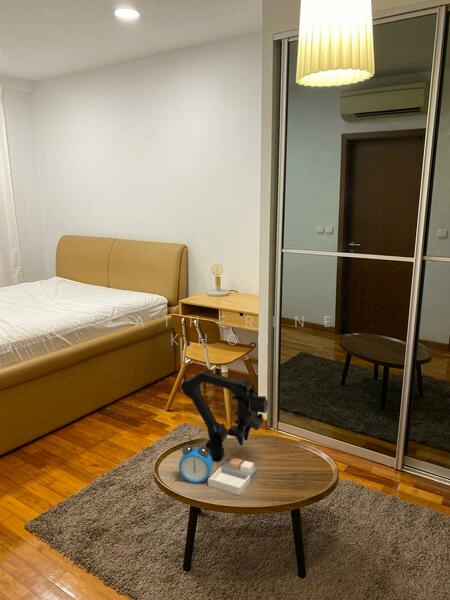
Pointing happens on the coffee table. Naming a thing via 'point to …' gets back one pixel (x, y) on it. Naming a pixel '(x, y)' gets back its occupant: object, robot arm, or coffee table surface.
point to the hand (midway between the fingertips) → (243, 442)
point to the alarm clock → (195, 463)
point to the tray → (228, 482)
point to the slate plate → (238, 471)
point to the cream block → (247, 467)
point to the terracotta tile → (235, 463)
